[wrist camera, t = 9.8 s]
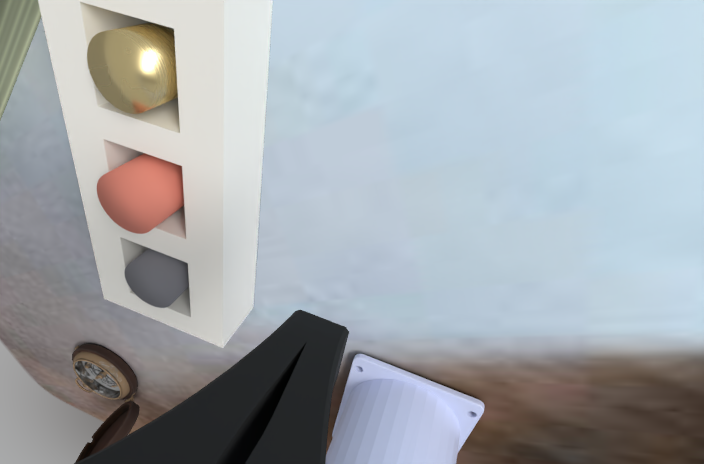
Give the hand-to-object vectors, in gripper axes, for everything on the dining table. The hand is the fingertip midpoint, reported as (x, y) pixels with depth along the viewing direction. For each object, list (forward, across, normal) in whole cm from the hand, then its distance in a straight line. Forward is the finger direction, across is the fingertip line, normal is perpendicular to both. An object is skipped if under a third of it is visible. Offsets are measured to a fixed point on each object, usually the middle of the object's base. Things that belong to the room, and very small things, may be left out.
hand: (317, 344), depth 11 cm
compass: (+11, +20, +28) cm, 36 cm away
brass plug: (+10, +11, -3) cm, 15 cm away
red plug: (+10, +11, +3) cm, 15 cm away
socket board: (+10, +11, +3) cm, 15 cm away
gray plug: (+10, +11, +8) cm, 17 cm away
